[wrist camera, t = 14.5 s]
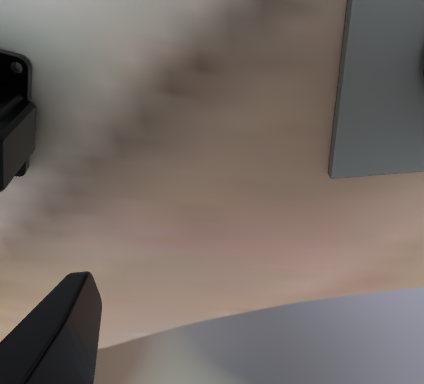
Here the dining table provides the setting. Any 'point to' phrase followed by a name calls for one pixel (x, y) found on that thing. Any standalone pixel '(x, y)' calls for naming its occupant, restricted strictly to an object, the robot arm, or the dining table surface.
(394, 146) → the mat
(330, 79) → the dining table surface
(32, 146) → the robot arm
